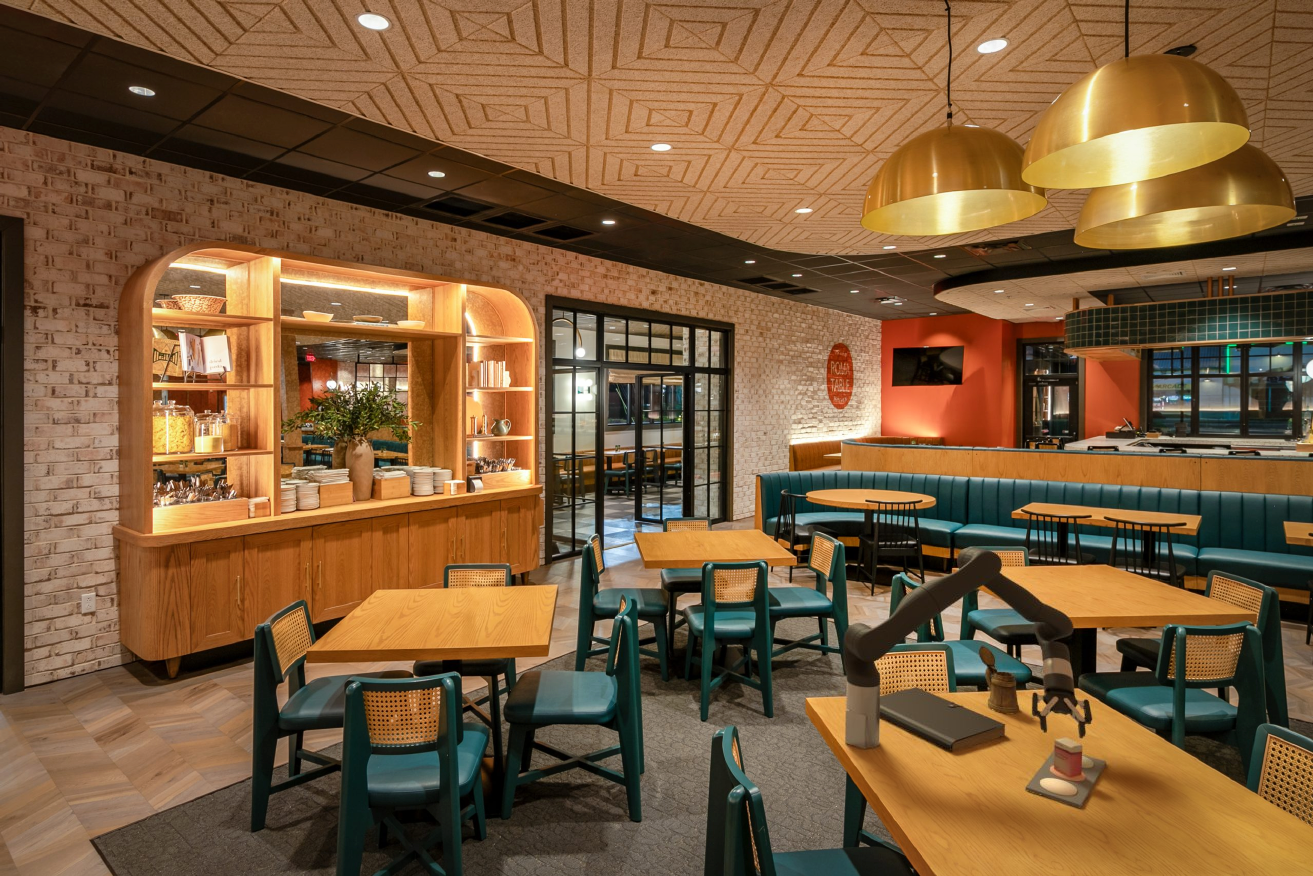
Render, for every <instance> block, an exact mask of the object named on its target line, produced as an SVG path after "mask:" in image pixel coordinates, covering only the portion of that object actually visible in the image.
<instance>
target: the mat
mask: <svg viewBox="0 0 1313 876" xmlns="http://www.w3.org/2000/svg"><path fill="white" fill-rule="evenodd" d="M1105 765H1106V766H1107V761H1106V760H1103V759H1099V758H1096V757H1092V756H1089V755H1086V754H1082V775H1078V776H1074V777H1069V776H1067V775H1065V774H1063V773H1061V772H1059V771H1057V770H1055V769H1054V750H1052V752H1051V753H1050V755H1049V756H1048V757H1047V758H1046V759H1045V761H1044V762H1043V764H1042V765H1041V767H1040V768H1039V769H1038V770H1037V771H1036V773H1035V774H1034V775H1033V777H1032V778H1031V779H1030V781H1029V782H1028V783H1027V785H1025V791H1026V790H1029V791H1031V792H1030V793H1032V792H1034V793H1033V794H1035V793H1037V794H1036V795H1038V794H1041V795H1040V796H1042V795H1044V796H1043V797H1045V798H1048V797H1049V798H1048V799H1052V800H1055V801H1057V802H1060V803H1063V804H1066V805H1070V806H1072V807H1075V808H1078V807H1079V809H1082V807H1083V805H1084V804H1085V802H1086V800H1087V799H1088V796H1089V795H1090V793H1091V792H1092V790H1093V788H1094V786H1095V785H1094V784H1096V783H1095V782H1098V779H1099V778H1100V776H1101V775H1102V773H1101V772H1103V771H1102V770H1104V769H1105V767H1106V766H1105ZM1099 775H1100V776H1099ZM1098 777H1099V778H1098ZM1091 789H1092V790H1091ZM1029 791H1028V792H1029ZM1090 791H1091V792H1090Z"/></svg>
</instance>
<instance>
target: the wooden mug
mask: <svg viewBox="0 0 1313 876" xmlns="http://www.w3.org/2000/svg"><path fill="white" fill-rule="evenodd" d="M978 656H979V658H980V660H981V662H982V663H983V664H984V666H986V669H985V672H984V673H985V675H984V676H985V681H986V683H987V686H988V689H989V691H990V692H989V693H990V694H989V698H988V699H987V706H988V708H989V709H991V710H992V709H993V711H994V710H995V712H997V711H999V712H998V713H1001V712H1002V713H1003V714H1007V713H1014V714H1018V713H1020V705H1019V702H1018V694H1017V687H1016V686H1017V681H1016V679H1015V675H1014V674H1013V673H1011V672H1008V671H998V669H997V667H996V665H995V664H996V657H995V655H994V653H993V651H991V649H989V648H988V647H987V646H984V645H981V644H980V647H979V650H978Z"/></svg>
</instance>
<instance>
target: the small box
mask: <svg viewBox="0 0 1313 876" xmlns="http://www.w3.org/2000/svg"><path fill="white" fill-rule="evenodd" d="M1053 747H1054V749H1053V751H1054V769H1055V770H1057V771H1059V772H1061V773H1063V774H1065V775H1067V776H1069V777H1074V776H1078V775H1082V755H1083V744H1080V743H1079V742H1076V741H1075V740H1072V739H1071V738H1068V737H1066V736H1065V737H1060V738H1056V739H1054V746H1053Z"/></svg>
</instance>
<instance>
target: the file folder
mask: <svg viewBox="0 0 1313 876" xmlns="http://www.w3.org/2000/svg"><path fill="white" fill-rule="evenodd" d="M880 716H881V717H882V718H881V717H880V718H881V719H883V718H884V719H883V720H885V719H886V721H887V720H888V722H889V721H890V723H891V722H892V724H893V723H894V724H893V725H895V724H896V726H897V725H898V727H899V726H900V728H901V727H902V729H903V728H904V730H905V729H906V730H905V731H907V730H908V732H910V733H912V734H913V735H916V736H918V737H920V738H921V739H924V740H926V741H928V742H931V743H932V744H934V745H936V746H938V747H940V748H942V749H944V750H946V751H949V753H952V752H956V751H957V752H958V751H960V750H962V749H967V748H970V747H972V746H976V745H979V744H982V743H985V742H988V740H989V741H991V739H992V740H994V739H997V738H1001V737H1004V736H1005V735H1006V724H1005V723H1003V722H1001V721H998V720H996V719H993V718H991V717H988V716H986V715H984V714H981V713H979V712H976V711H974V710H972V709H971V708H967V707H965V706H964V705H960V704H957V703H955V702H953V701H951V700H948V699H946V698H943V697H940V696H939V695H936V694H933V693H931V692H928V691H926V690H924V689H922V688H919V687H916V686H915V687H911V688H905V689H902V690H897V691H894V692H891V693H886V694H883V695H880ZM1000 736H1001V737H1000ZM993 738H994V739H993ZM981 742H982V743H981Z"/></svg>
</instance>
